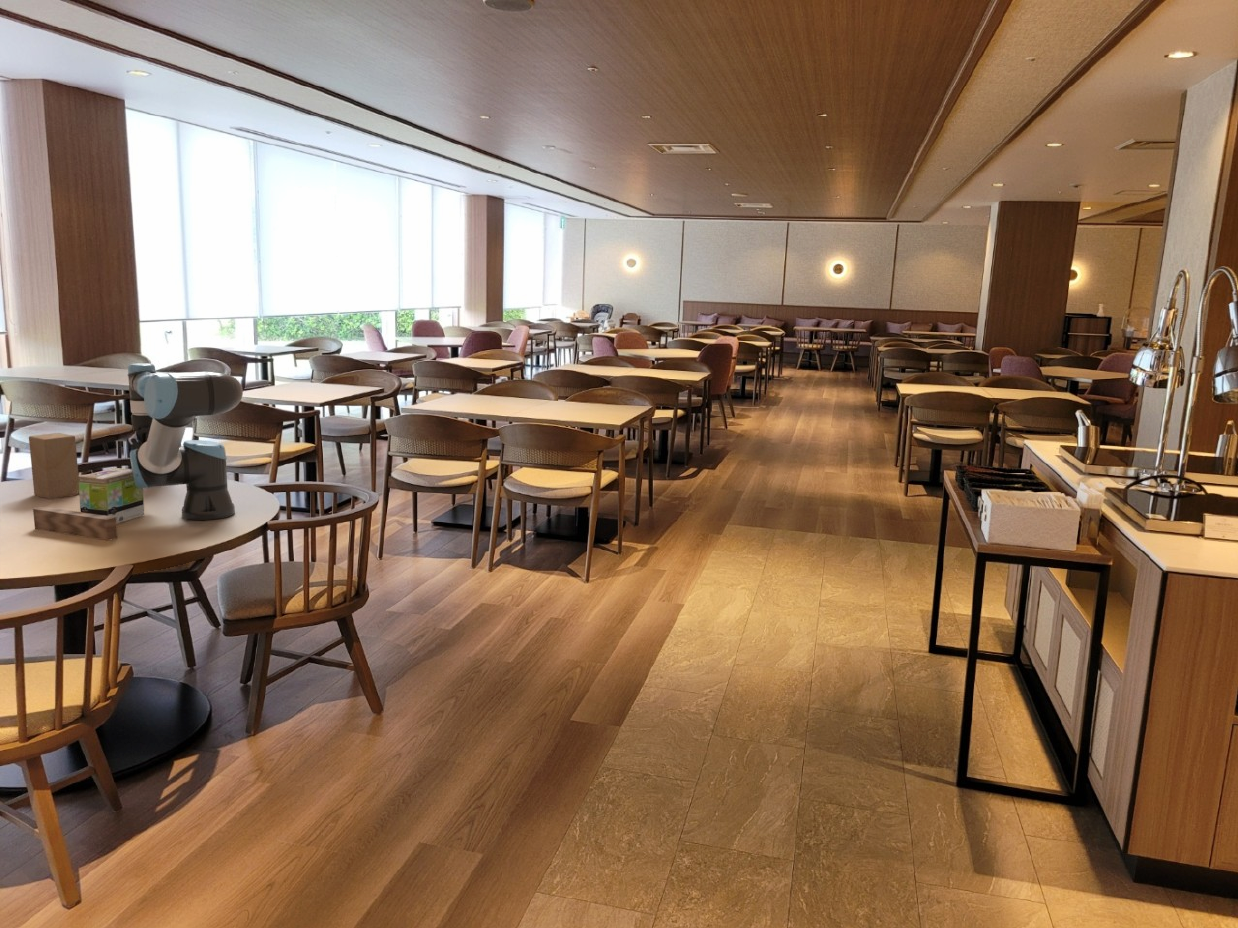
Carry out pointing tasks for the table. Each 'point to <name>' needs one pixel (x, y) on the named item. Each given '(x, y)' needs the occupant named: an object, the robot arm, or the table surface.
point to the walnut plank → (75, 523)
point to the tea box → (111, 494)
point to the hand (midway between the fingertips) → (149, 487)
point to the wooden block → (54, 465)
